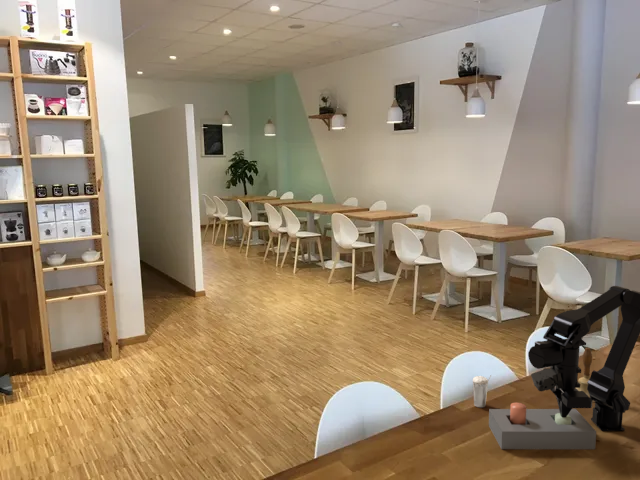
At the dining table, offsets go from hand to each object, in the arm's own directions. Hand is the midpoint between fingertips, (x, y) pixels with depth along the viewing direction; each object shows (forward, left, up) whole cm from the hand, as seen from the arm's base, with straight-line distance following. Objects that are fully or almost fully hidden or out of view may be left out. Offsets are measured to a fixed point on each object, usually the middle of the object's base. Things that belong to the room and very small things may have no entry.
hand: (563, 416), depth 142 cm
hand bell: (-17, -24, -6) cm, 30 cm away
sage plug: (0, 0, -5) cm, 5 cm away
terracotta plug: (+12, 0, -2) cm, 12 cm away
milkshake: (+17, -18, -6) cm, 25 cm away
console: (+6, 0, -6) cm, 8 cm away
